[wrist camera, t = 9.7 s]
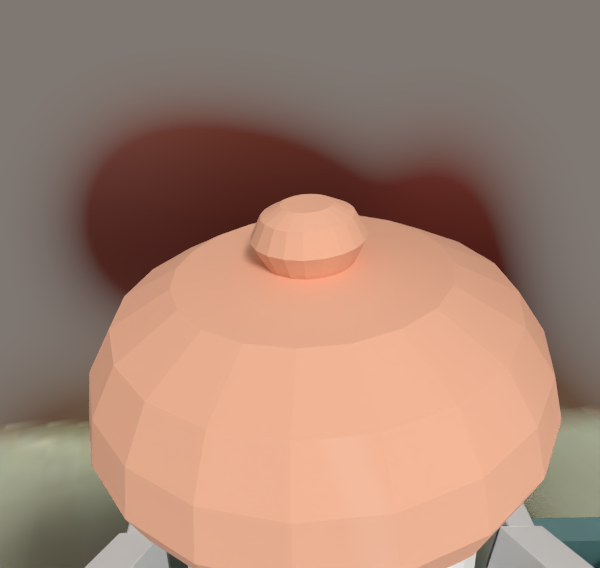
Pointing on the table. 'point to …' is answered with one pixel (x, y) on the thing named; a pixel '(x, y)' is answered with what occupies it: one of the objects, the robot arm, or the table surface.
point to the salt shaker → (323, 397)
